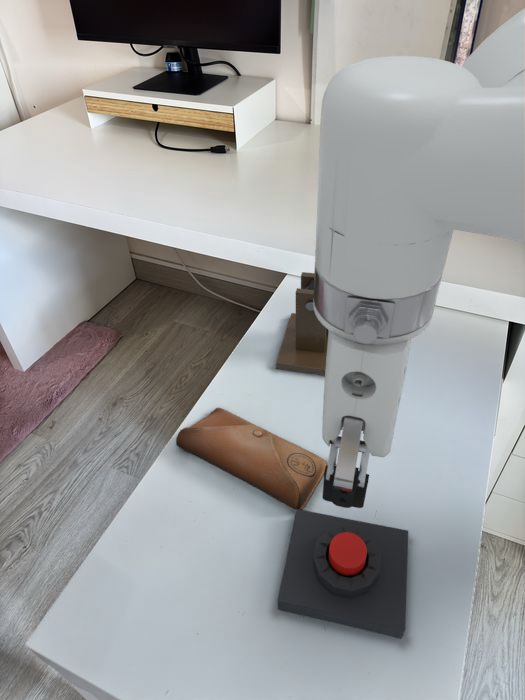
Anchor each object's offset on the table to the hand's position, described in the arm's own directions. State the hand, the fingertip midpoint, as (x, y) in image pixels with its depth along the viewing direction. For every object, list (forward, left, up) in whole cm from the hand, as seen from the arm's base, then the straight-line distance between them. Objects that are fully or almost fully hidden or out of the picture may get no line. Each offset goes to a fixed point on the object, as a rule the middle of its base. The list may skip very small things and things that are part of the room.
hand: (351, 451), depth 43 cm
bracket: (+8, -31, -17) cm, 36 cm away
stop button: (-1, +3, -14) cm, 14 cm away
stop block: (-1, +3, -17) cm, 17 cm away
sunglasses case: (+12, -9, -17) cm, 23 cm away
